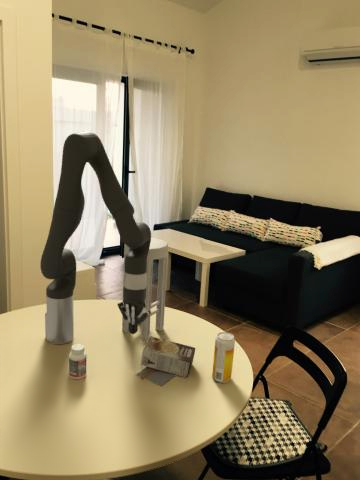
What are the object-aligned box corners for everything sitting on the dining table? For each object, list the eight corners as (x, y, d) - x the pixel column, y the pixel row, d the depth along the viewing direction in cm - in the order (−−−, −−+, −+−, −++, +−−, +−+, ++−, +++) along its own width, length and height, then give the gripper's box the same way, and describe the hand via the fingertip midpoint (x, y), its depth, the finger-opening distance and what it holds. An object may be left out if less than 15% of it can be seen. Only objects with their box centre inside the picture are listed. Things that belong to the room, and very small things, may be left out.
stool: (170, 328, 175) (175, 242, 166) (147, 343, 163) (151, 251, 153) (139, 317, 183) (142, 234, 174) (114, 331, 171) (116, 242, 161)
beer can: (232, 375, 146) (237, 333, 142) (228, 385, 141) (232, 342, 136) (214, 371, 148) (218, 329, 144) (209, 380, 142) (213, 338, 138)
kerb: (140, 378, 141) (140, 375, 141) (167, 360, 152) (167, 357, 152) (143, 380, 141) (143, 376, 140) (169, 361, 152) (169, 358, 151)
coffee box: (149, 334, 151) (196, 346, 150) (147, 350, 154) (192, 362, 152) (142, 349, 143) (191, 362, 141) (139, 366, 145) (188, 378, 143)
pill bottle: (80, 381, 138) (81, 352, 135) (65, 377, 140) (65, 349, 137) (89, 372, 143) (89, 344, 140) (74, 368, 145) (74, 341, 142)
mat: (136, 374, 143) (136, 373, 143) (159, 359, 153) (159, 358, 153) (161, 386, 138) (161, 385, 138) (183, 370, 148) (183, 369, 147)
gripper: (111, 282, 145) (110, 330, 150) (143, 293, 138) (141, 343, 143) (127, 276, 151) (125, 323, 156) (158, 286, 144) (155, 335, 149)
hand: (132, 333), depth 149 cm, fingers closed
